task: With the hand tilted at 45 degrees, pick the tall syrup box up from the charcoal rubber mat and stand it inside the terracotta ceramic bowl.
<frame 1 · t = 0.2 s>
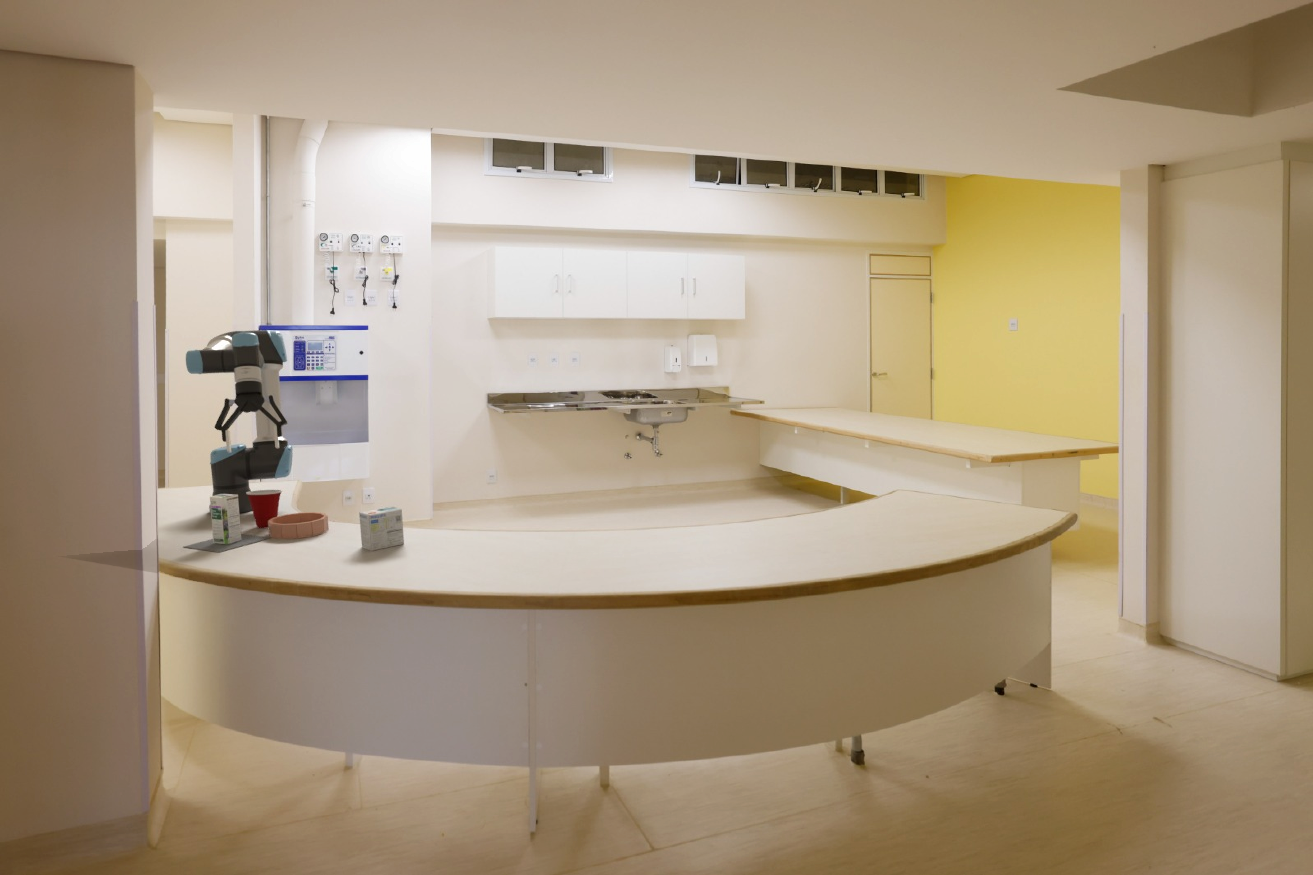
hand: (253, 449, 264), 28 cm above the table, tool tilted 15°, fingers open, 13 cm apart
rubber mat: (227, 542, 262), on the table
plastic cup: (267, 526, 283), on the table
syrup box: (227, 542, 262), resting on rubber mat
light bulb box: (383, 546, 254), on the table
ceramic bowl: (299, 532, 274), on the table
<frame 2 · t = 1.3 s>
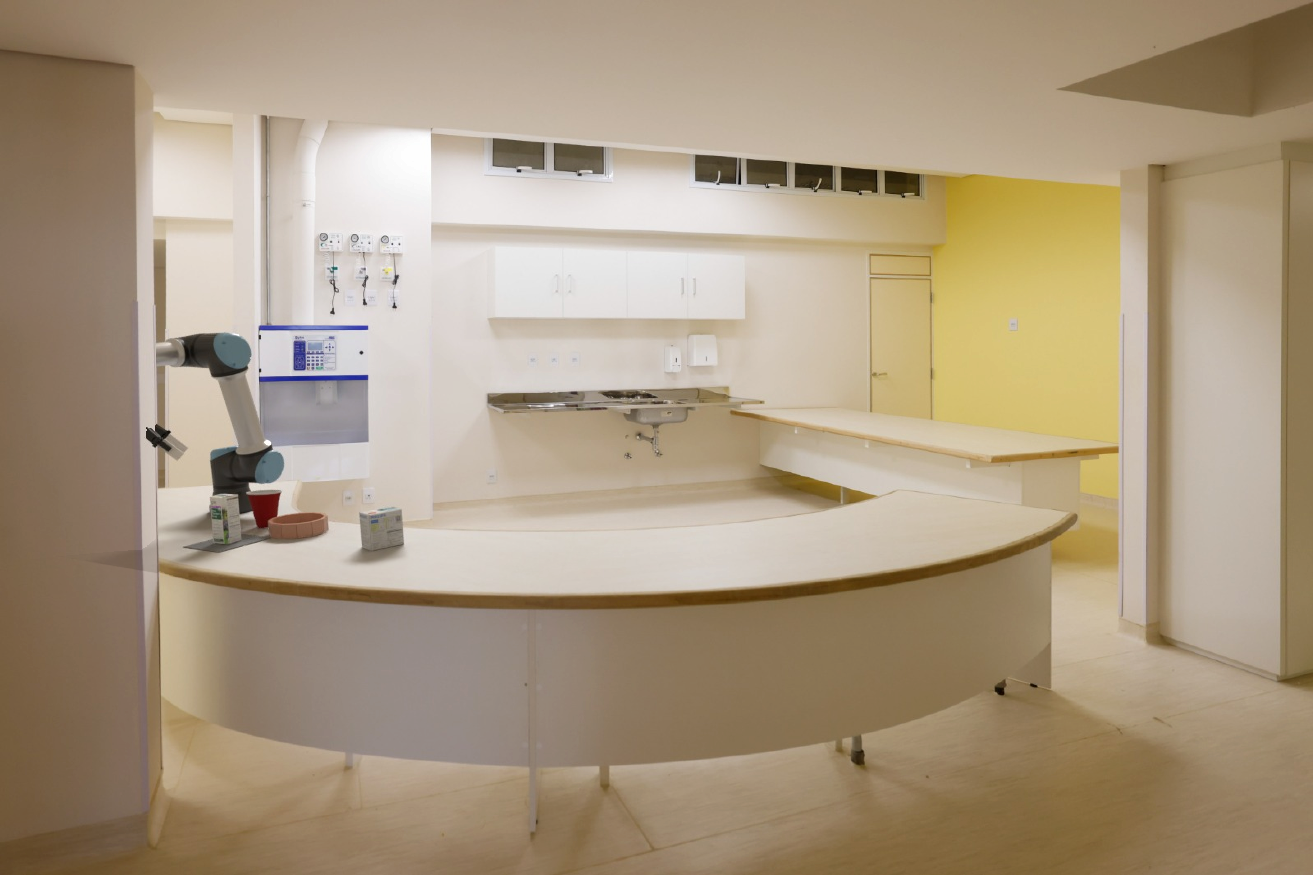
hand: (183, 454, 255), 28 cm above the table, tool tilted 45°, fingers open, 13 cm apart
nothing on the table moved.
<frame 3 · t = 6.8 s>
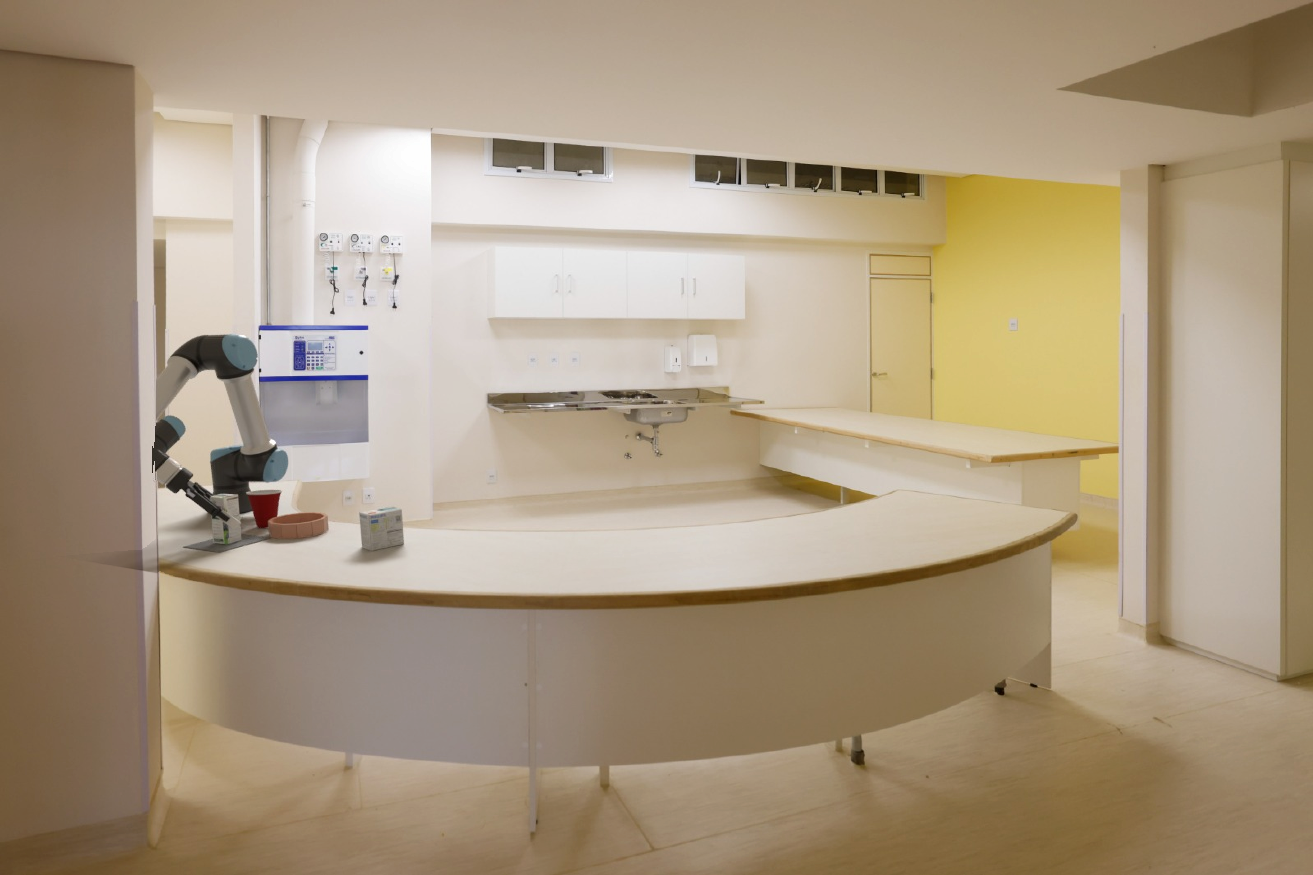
hand: (238, 523, 263), 6 cm above the table, tool tilted 45°, fingers closed on syrup box, 8 cm apart
syrup box: (227, 542, 262), resting on rubber mat, touching gripper
everything else where it was.
when the fingers open (8 cm above the table, at t = 14.2 s): syrup box drops 2 cm, resting on ceramic bowl.
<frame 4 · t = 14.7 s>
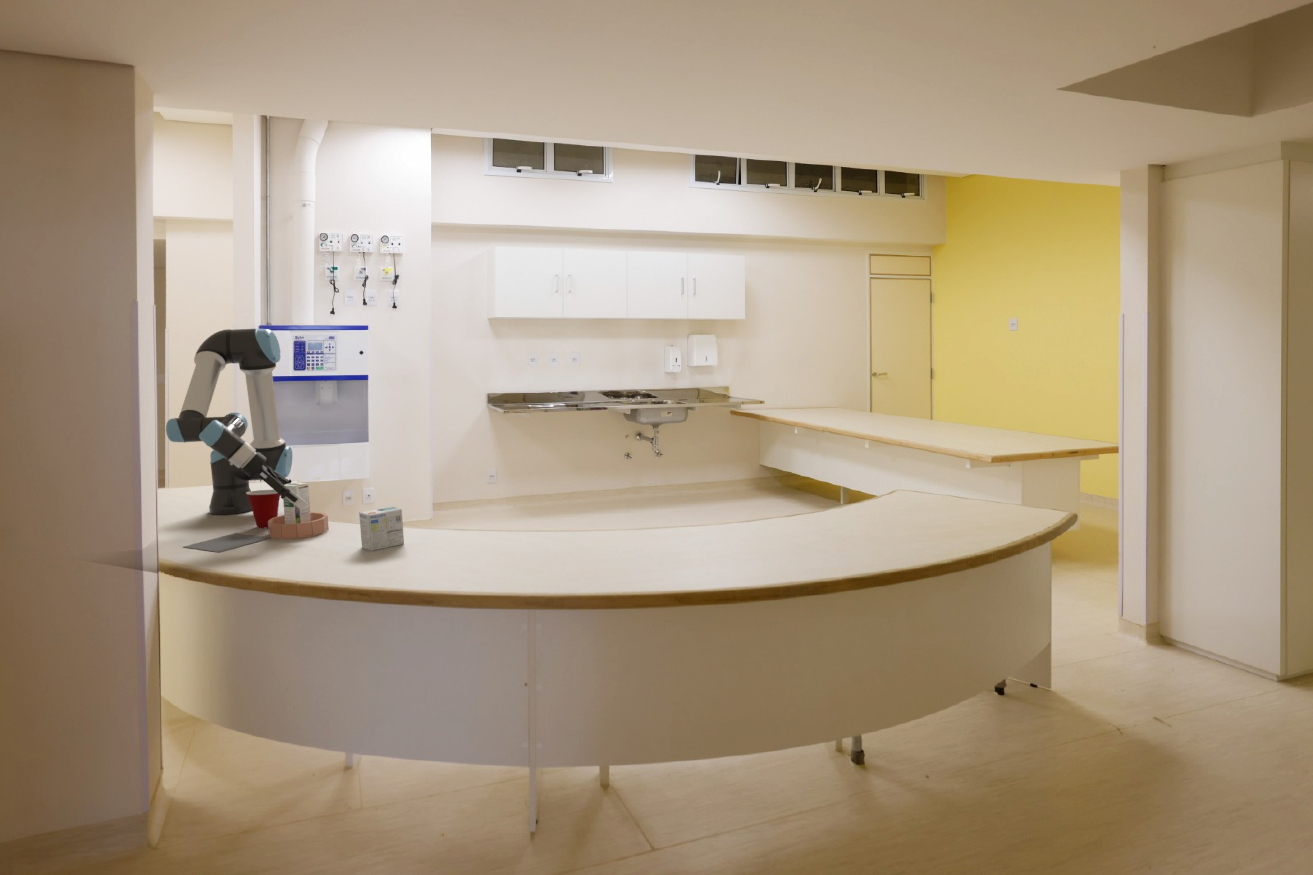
hand: (304, 503, 273), 9 cm above the table, tool tilted 45°, fingers open, 13 cm apart
syrup box: (298, 529, 274), point 1 cm above the table, touching ceramic bowl
everything else where it was.
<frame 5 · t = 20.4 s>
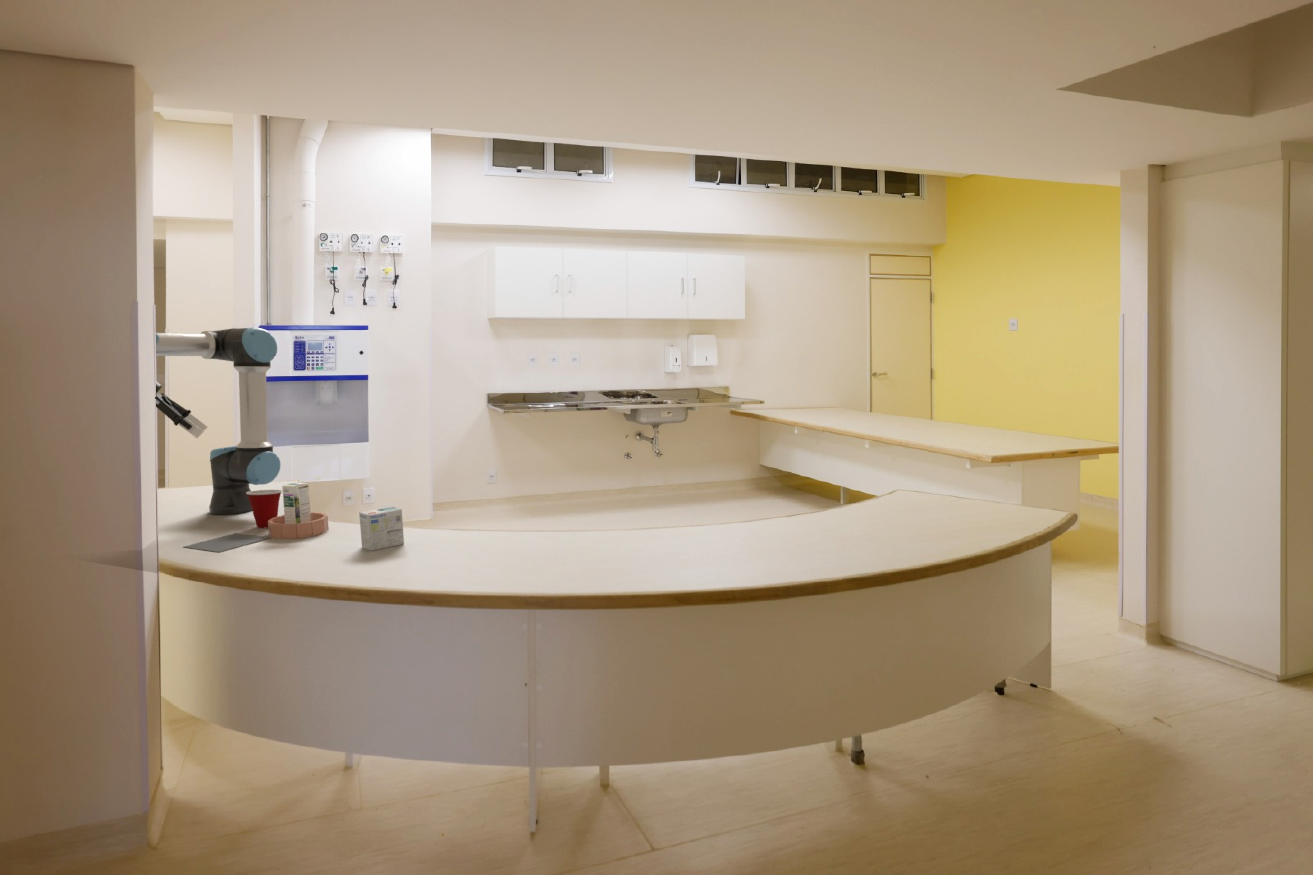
hand: (202, 432, 268), 33 cm above the table, tool tilted 45°, fingers open, 13 cm apart
nothing on the table moved.
at the end: syrup box inside the target area on the ceramic bowl (0.4 cm from its centre), point 0.8 cm above the ceramic bowl's base; syrup box tilted 0°; the gripper is holding nothing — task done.
